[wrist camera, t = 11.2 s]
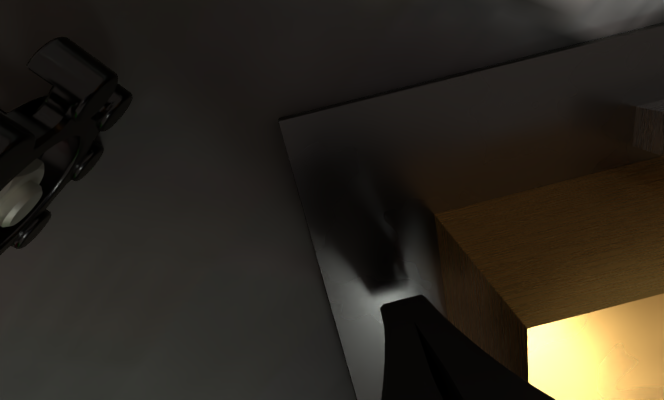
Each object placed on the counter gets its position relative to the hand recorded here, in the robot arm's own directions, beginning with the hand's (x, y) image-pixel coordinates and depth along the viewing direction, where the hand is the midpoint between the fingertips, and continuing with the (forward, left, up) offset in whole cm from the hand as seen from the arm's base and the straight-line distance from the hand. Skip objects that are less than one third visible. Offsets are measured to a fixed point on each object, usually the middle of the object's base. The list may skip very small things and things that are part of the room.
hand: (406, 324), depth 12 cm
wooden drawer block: (0, -6, -1) cm, 6 cm away
